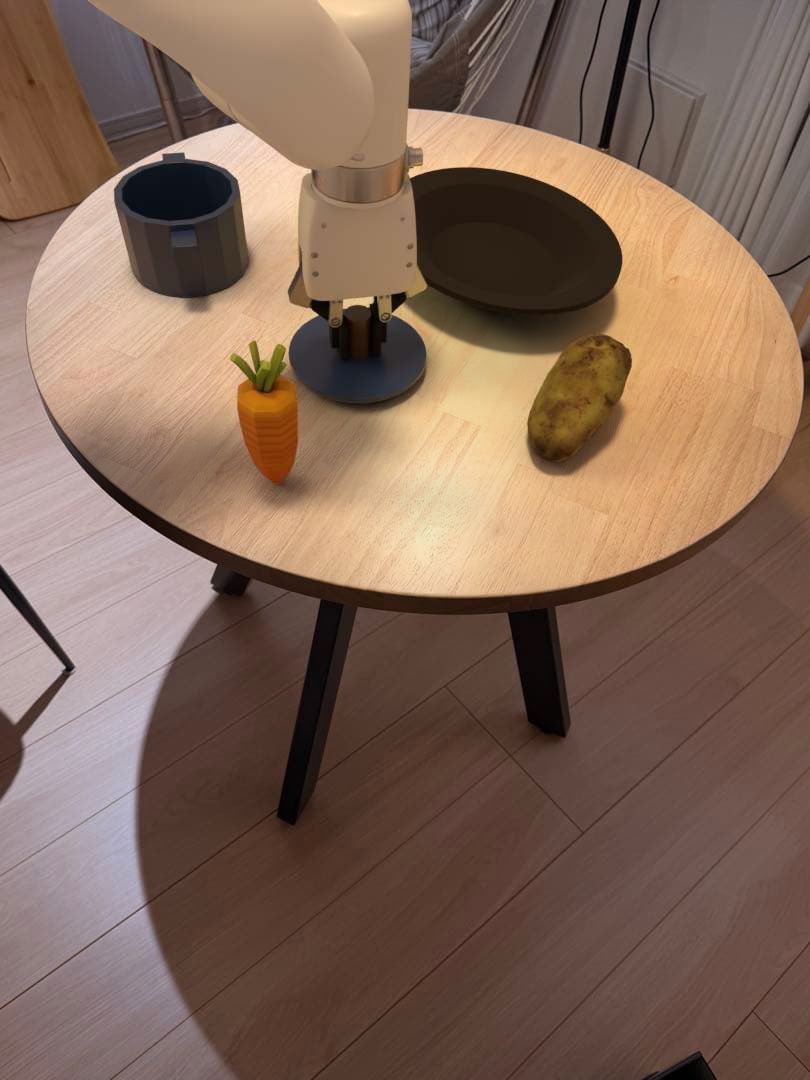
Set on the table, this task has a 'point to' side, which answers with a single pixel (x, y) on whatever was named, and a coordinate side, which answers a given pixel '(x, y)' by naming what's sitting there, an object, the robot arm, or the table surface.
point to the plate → (511, 242)
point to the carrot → (268, 413)
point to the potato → (577, 396)
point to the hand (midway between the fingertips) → (357, 347)
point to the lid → (357, 359)
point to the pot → (182, 226)
